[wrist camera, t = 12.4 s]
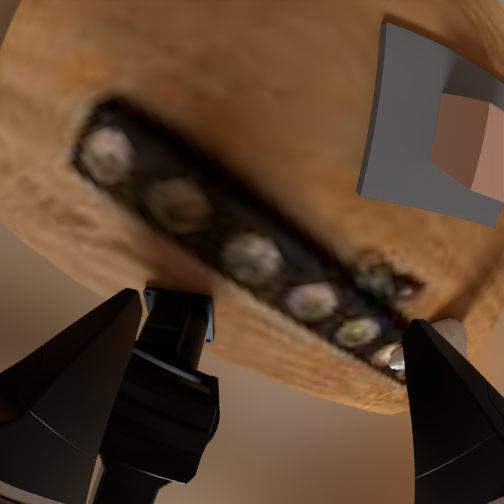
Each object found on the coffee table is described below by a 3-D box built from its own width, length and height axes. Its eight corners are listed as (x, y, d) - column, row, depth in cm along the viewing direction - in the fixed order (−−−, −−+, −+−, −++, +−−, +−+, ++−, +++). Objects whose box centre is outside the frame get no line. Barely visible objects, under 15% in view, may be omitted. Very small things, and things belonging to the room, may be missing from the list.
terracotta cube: (476, 178, 14) (516, 208, 10) (428, 162, 14) (470, 190, 10) (490, 118, 12) (535, 135, 7) (441, 93, 12) (489, 102, 8)
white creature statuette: (384, 359, 28) (402, 450, 18) (419, 308, 23) (459, 412, 13) (439, 357, 28) (463, 433, 18) (475, 311, 23) (514, 394, 13)
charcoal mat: (488, 222, 17) (494, 227, 16) (356, 191, 17) (360, 196, 17) (518, 99, 10) (525, 101, 10) (381, 25, 11) (386, 22, 10)
